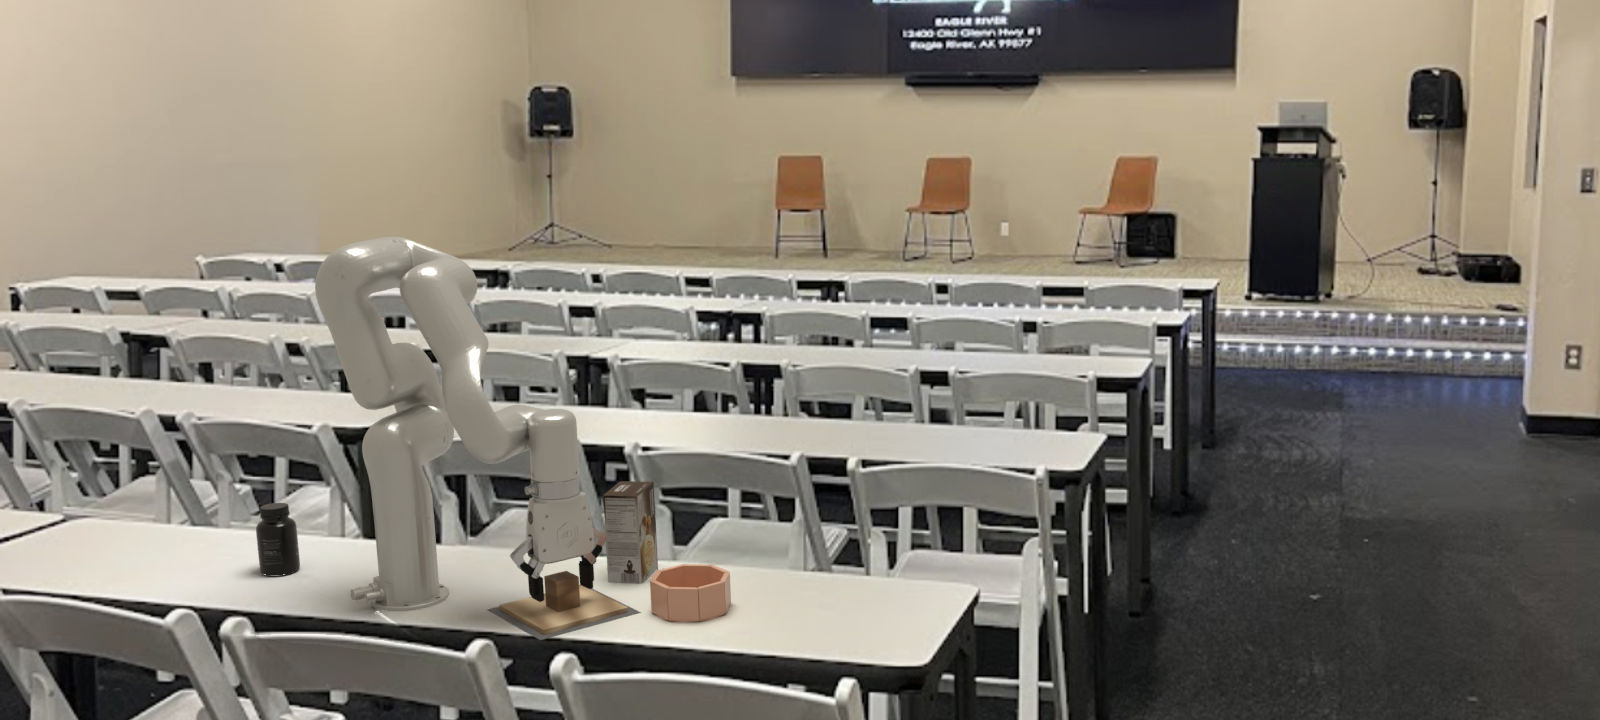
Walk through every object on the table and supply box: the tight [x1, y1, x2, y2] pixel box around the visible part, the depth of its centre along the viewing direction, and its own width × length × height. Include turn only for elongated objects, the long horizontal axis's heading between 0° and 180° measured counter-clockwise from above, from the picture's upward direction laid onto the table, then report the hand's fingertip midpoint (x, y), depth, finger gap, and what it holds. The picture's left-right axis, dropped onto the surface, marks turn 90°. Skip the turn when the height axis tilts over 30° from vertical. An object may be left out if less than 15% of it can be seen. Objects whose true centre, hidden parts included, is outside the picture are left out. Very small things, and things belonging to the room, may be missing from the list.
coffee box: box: [602, 480, 659, 585], centre depth 261 cm, size 9×6×16 cm
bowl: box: [649, 563, 732, 623], centre depth 245 cm, size 12×12×6 cm
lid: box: [498, 570, 628, 635], centre depth 245 cm, size 15×15×6 cm
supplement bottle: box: [255, 502, 301, 576], centre depth 271 cm, size 7×7×12 cm
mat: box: [486, 588, 642, 641], centre depth 246 cm, size 18×18×1 cm
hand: (562, 592), depth 245 cm, fingers open, 8 cm apart
